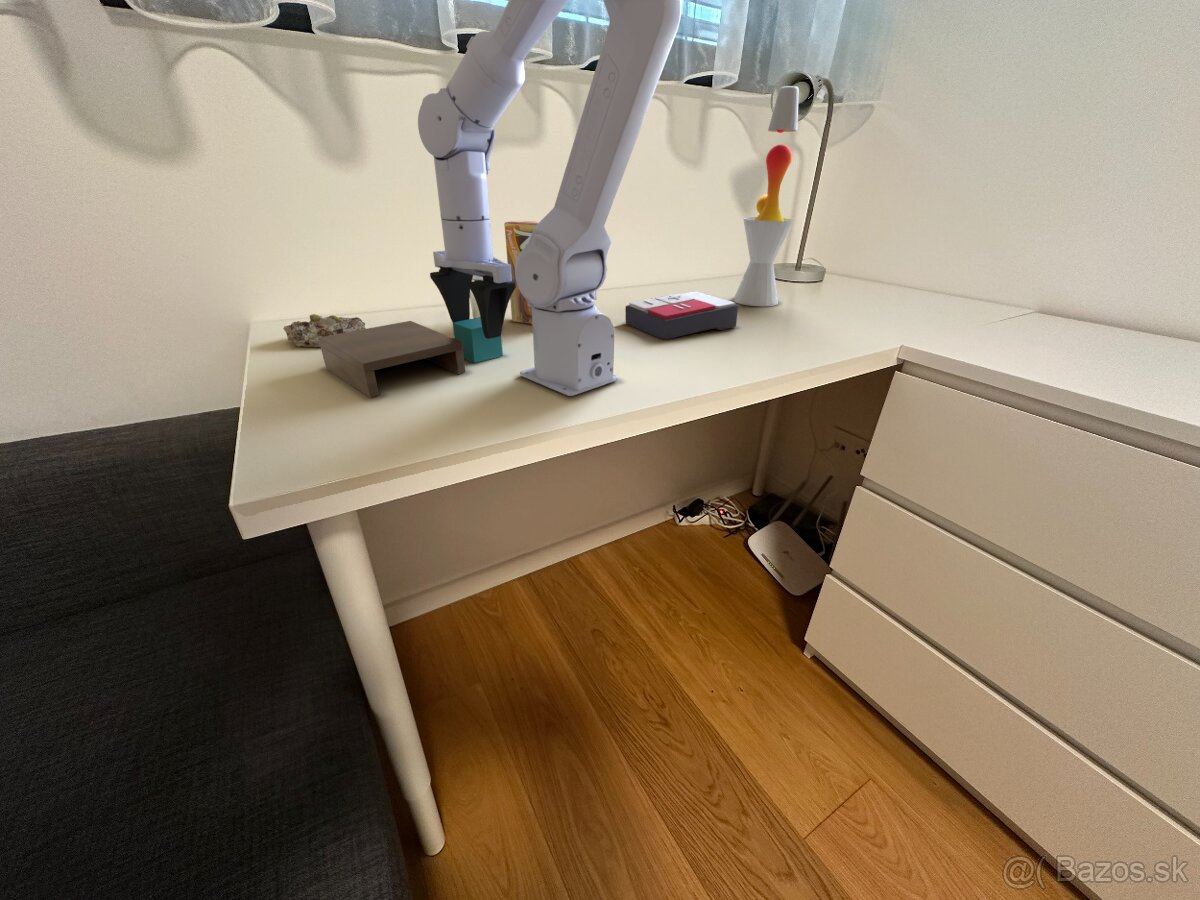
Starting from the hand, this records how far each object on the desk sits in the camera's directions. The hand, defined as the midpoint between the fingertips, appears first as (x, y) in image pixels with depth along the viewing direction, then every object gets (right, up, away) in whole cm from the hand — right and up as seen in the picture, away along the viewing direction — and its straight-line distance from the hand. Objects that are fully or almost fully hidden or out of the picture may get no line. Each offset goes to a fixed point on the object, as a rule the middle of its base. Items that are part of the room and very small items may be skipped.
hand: (476, 330), depth 68 cm
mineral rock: (-23, 0, +7) cm, 24 cm away
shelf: (-9, -6, -4) cm, 12 cm away
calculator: (+30, +5, +17) cm, 34 cm away
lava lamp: (+47, +14, +34) cm, 60 cm away
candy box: (+6, +5, +17) cm, 19 cm away
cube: (0, -3, +2) cm, 3 cm away
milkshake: (-2, +3, +13) cm, 14 cm away
